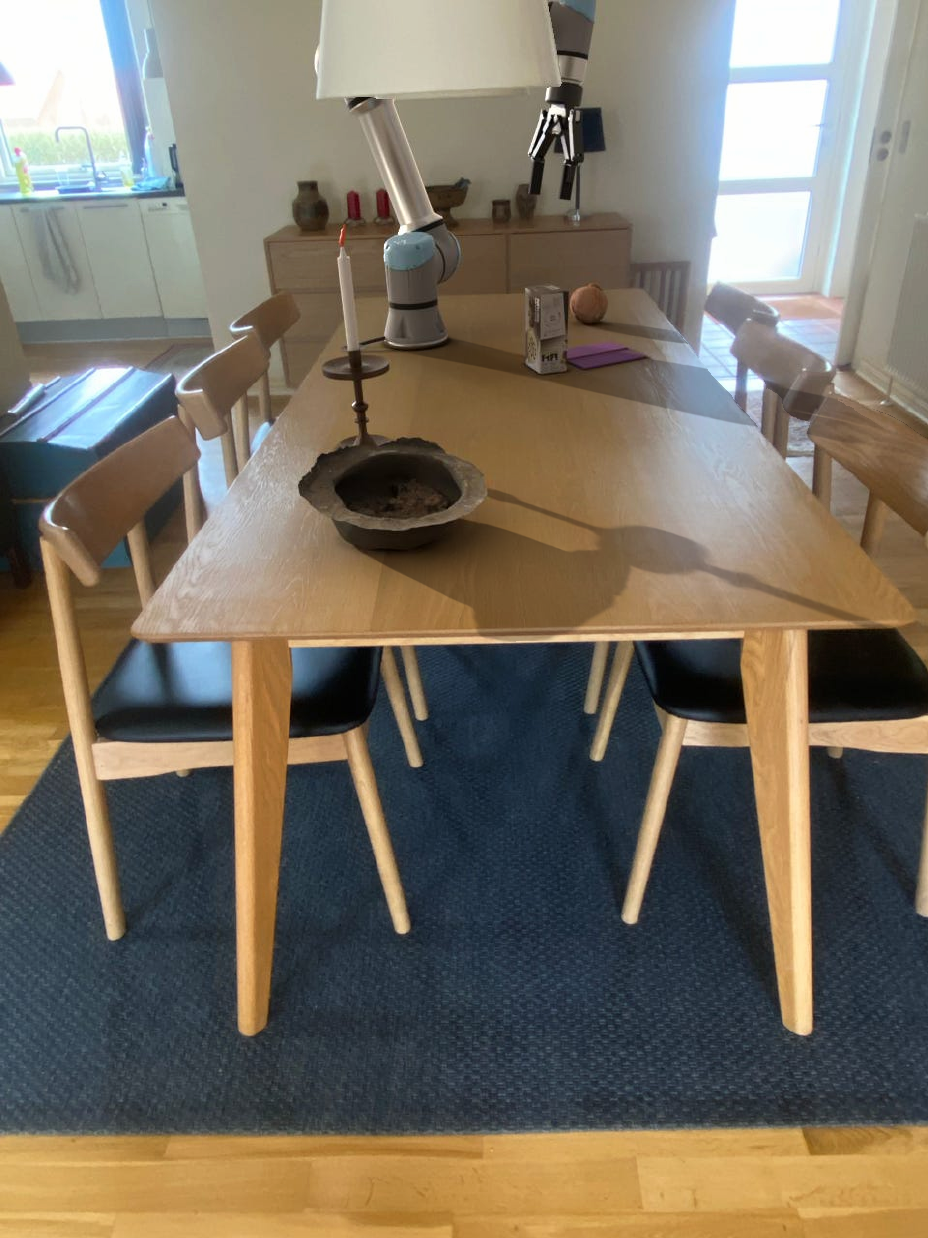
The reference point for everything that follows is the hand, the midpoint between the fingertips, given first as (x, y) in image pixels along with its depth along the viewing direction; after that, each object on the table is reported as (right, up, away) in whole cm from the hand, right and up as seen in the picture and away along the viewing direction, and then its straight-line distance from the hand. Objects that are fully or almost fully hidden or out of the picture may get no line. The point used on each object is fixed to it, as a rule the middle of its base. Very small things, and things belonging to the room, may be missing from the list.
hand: (548, 197), depth 181 cm
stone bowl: (-28, -80, -66) cm, 108 cm away
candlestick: (-36, -64, -40) cm, 84 cm away
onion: (+13, -18, +27) cm, 35 cm away
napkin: (+11, -35, +1) cm, 37 cm away
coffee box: (-1, -39, -5) cm, 40 cm away
